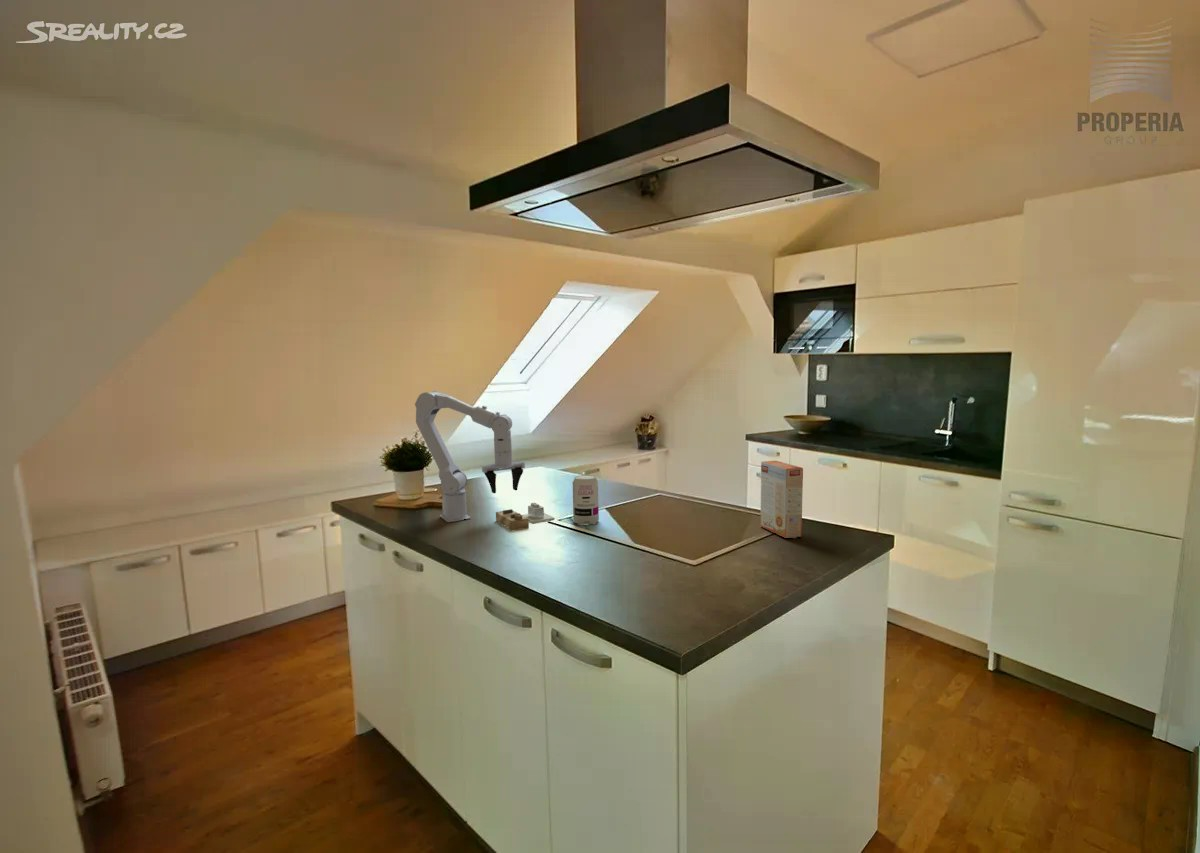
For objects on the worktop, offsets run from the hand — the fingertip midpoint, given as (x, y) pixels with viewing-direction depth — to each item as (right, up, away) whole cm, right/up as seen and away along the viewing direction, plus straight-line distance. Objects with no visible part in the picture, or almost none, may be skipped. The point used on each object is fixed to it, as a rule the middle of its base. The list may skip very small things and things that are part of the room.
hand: (504, 491), depth 195 cm
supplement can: (+28, -10, -6) cm, 30 cm away
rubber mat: (+11, -9, +1) cm, 14 cm away
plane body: (+3, -10, -6) cm, 12 cm away
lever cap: (+11, -9, 0) cm, 14 cm away
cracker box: (+86, -10, -21) cm, 90 cm away
